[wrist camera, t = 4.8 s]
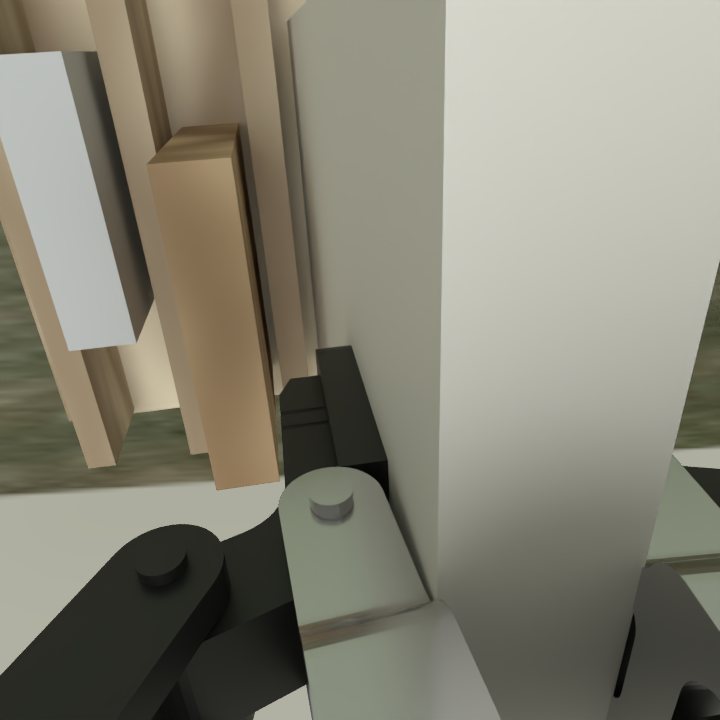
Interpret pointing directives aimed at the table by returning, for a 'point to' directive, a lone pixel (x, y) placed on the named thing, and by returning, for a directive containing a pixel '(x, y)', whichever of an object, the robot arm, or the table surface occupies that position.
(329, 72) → the sheet
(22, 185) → the offcut grey
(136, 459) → the table surface
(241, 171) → the offcut oak
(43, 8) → the rack
